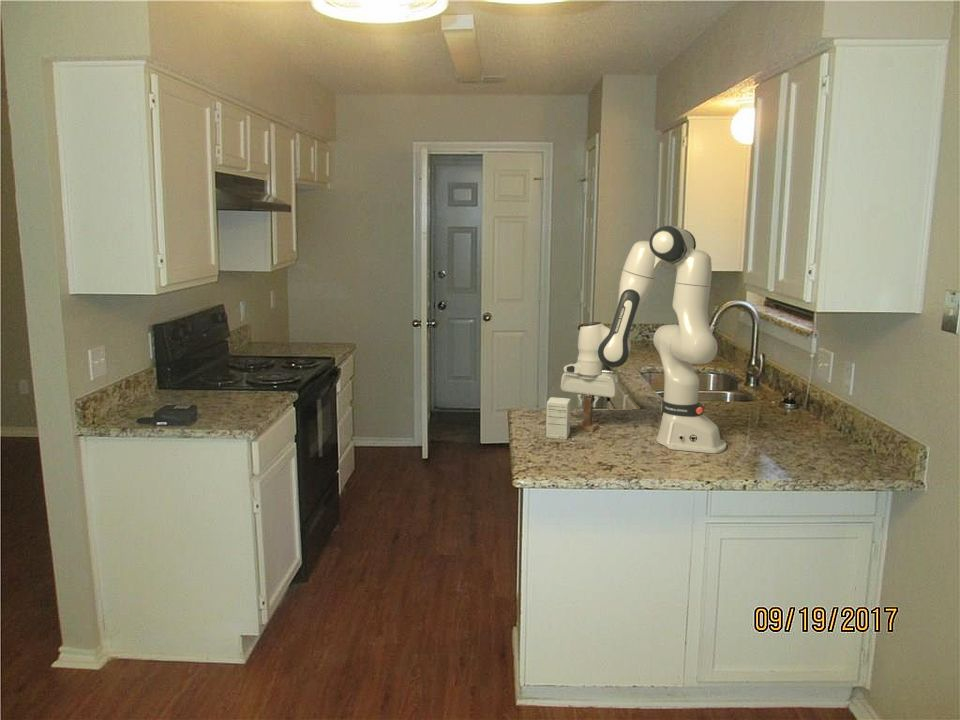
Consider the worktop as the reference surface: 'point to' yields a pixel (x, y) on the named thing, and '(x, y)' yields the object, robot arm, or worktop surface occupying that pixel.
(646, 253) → the robot arm
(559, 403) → the supplement box
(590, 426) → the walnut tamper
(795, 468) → the worktop surface
